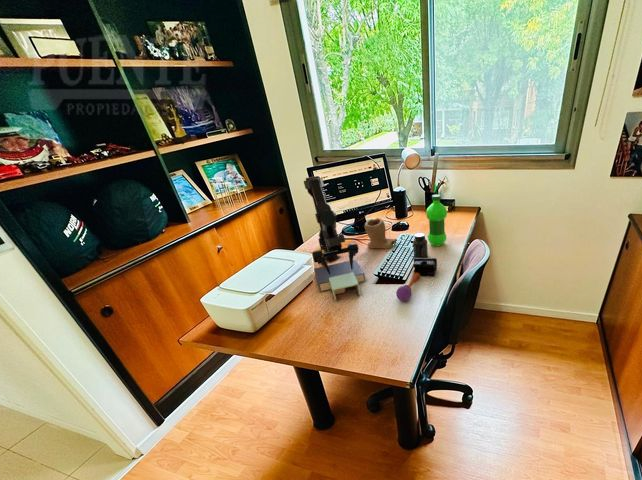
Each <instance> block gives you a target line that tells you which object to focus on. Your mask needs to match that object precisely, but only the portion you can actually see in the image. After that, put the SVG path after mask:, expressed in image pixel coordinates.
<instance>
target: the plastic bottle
mask: <svg viewBox="0 0 642 480" xmlns="http://www.w3.org/2000/svg"><path fill="white" fill-rule="evenodd" d="M441 198H442V197H441V194H432V195H431V201H432V203H431V204H429V206H428V207H427V208H426V211H425V212H426V218H427V219H428V226H429V232H428V234H427V241H428V242H429V244H431V245H432V246H434V247H440V246H442V245H443V244H444V243H446V241H447V234H446V232H445V231H446V230H445V220H446V218H447V216H448V211H447V208H446V206H445V205H444V204H442V203H441V202H440V201H441V200H442V199H441Z"/></svg>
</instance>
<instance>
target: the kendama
mask: <svg viewBox="0 0 642 480" xmlns="http://www.w3.org/2000/svg"><path fill="white" fill-rule="evenodd" d="M419 279H421V276H420V274H419V273H414V272H413V274H412V276H411V279H410V281H409V282H408V284H403V285H402V286H399V287H398V288H397V290H396V291H395V293H396V295H395V296H396V298H397V299H398V300H399V301H401V302H407V301H409V300H410V299H411V297H412V286H413V285H414V284H415V283H416V282H417V281H419Z"/></svg>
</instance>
